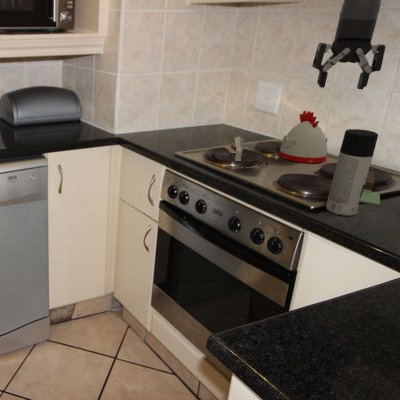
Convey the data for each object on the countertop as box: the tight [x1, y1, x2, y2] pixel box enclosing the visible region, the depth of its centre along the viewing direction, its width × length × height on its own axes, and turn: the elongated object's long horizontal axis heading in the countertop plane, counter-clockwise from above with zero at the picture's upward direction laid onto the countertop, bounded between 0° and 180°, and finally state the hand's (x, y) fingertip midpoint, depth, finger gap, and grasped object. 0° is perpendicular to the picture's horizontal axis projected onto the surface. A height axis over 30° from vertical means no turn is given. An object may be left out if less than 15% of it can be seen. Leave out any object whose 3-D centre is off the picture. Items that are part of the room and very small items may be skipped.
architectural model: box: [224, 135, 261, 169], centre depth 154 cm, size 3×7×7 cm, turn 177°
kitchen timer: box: [278, 110, 328, 164], centre depth 156 cm, size 14×14×15 cm
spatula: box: [360, 170, 381, 207], centre depth 130 cm, size 21×6×3 cm, turn 147°
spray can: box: [325, 128, 379, 217], centre depth 114 cm, size 7×7×20 cm
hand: (340, 88), depth 117 cm, fingers open, 8 cm apart
